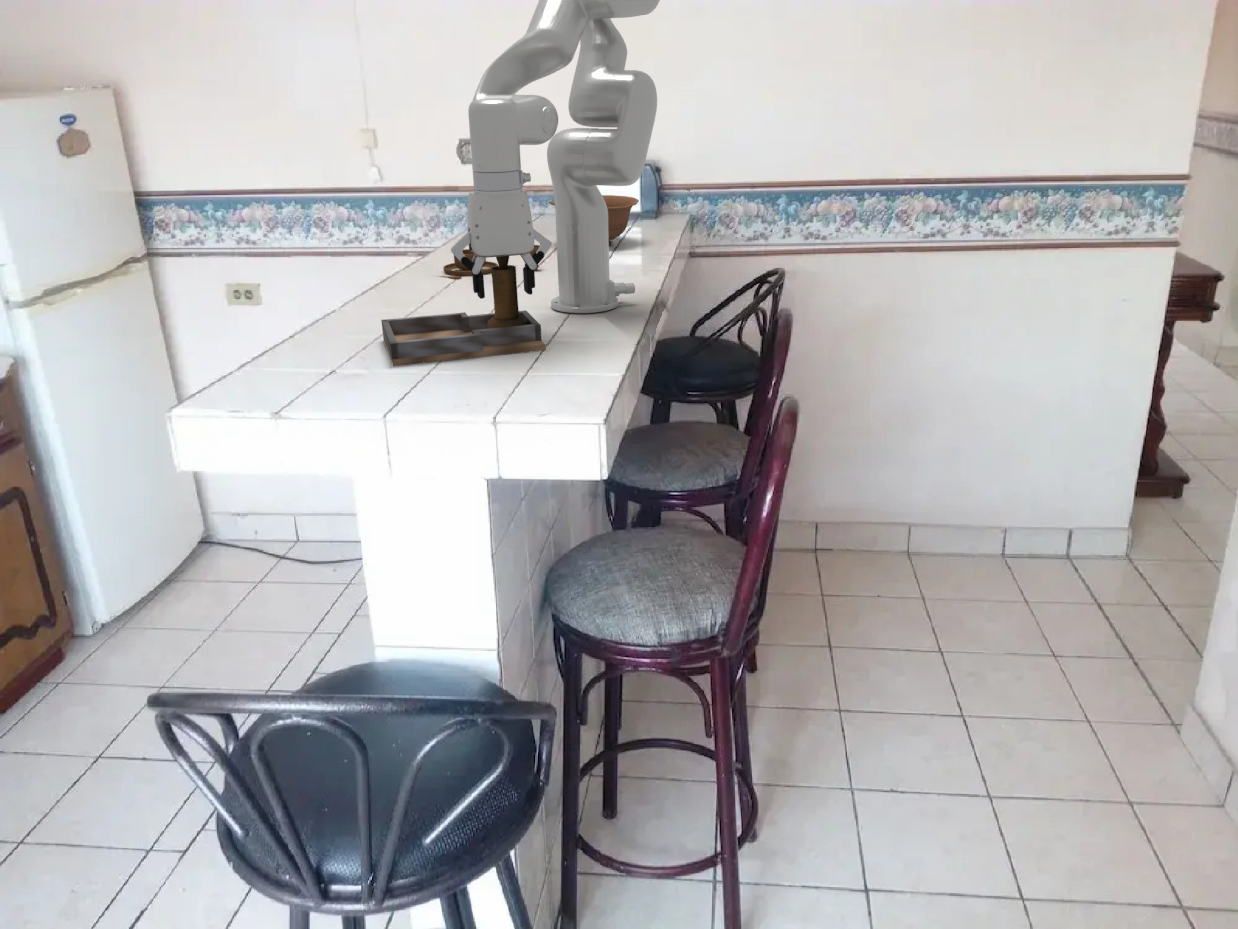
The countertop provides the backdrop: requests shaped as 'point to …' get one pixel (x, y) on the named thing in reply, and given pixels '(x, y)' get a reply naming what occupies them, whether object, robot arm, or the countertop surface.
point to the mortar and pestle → (505, 296)
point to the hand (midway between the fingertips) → (504, 294)
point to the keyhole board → (456, 337)
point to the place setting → (470, 256)
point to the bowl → (616, 213)
